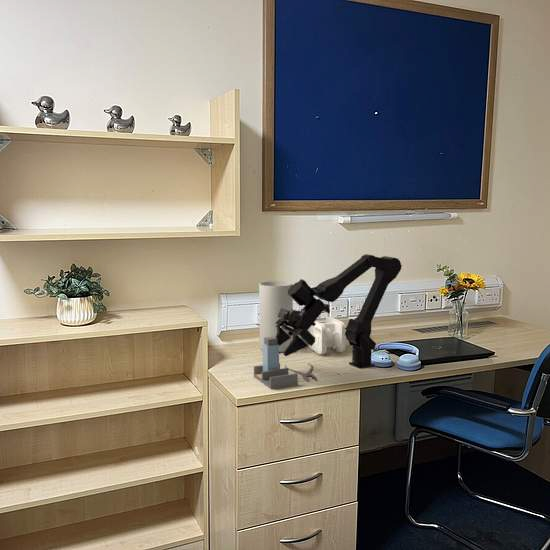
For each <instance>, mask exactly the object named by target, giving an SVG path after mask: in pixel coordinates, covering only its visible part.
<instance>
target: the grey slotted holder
mask: <svg viewBox="0 0 550 550" xmlns="http://www.w3.org/2000/svg"><path fill="white" fill-rule="evenodd" d="M288 368H289V367H287V368H285V367H284V368H281V363H280V362H279V369H276V370H269V371H263V364H260V365H254V366H253V378H255V379H256V380H257V381H259V382H260V381H261V382H260V383H262V384H263V383H264V384H263V385H265V386H266V387H267V386H268V387H267V388H269V389H270V388H271V389H270V390H273V389H272V388H274V389H279V388H278V387H281V388H286V386H288V387H294V386H298V384H299V383H298V381H299V380H298V373H295V372H294V373H290V372H289V369H290V368H289V369H288Z"/></svg>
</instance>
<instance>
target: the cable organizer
mask: <svg viewBox="0 0 550 550" xmlns="http://www.w3.org/2000/svg"><path fill="white" fill-rule="evenodd" d="M314 323H315V324H316V325H315V326H312V325H311V327H310V328H309V329H308V331H309V332H310V333H311V334H312V335H313V336H314V337H315V343H314V344H313V345H312V346H310V345H308V344H307V345H308V346H309V347H307V348H308V349H309V350H311V351H314V352H315V353H316V354H317V355H319V356H321V355H324V354H326V352H327V351H328V348H330V347H331V349H333V350H335V351H336V352H338V353H342V352H345V350H346V336H345V332H346V329H345V328H346V325H345V322H344V321H341V320H339V319H337V318H335V317H332V316H326V318H325V322H322V323H321V322H319V321H317V320H316V321H315V322H314Z"/></svg>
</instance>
